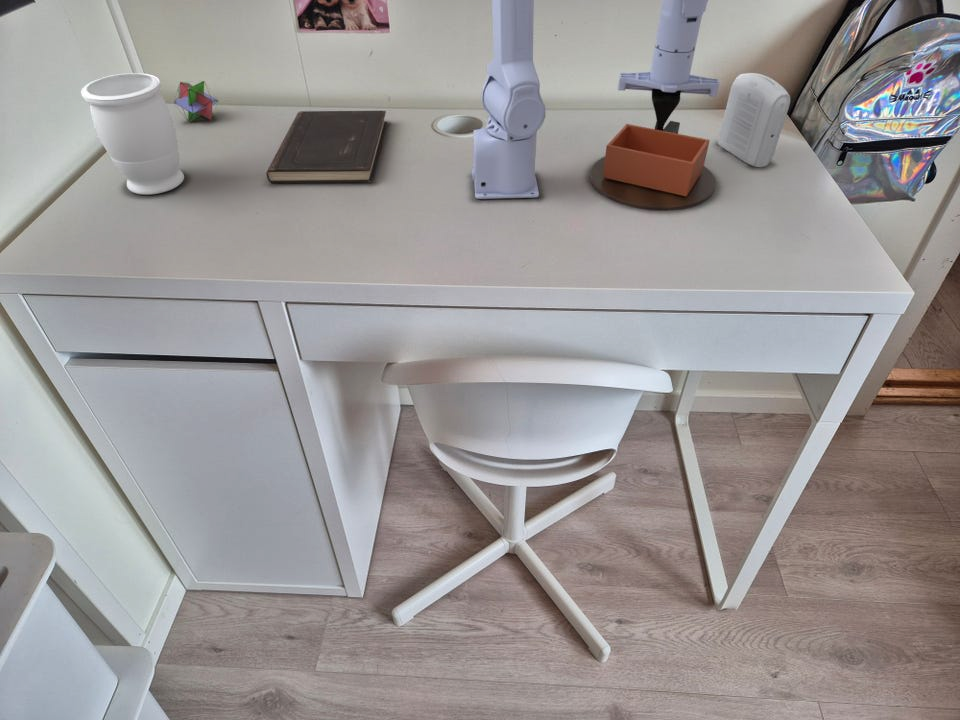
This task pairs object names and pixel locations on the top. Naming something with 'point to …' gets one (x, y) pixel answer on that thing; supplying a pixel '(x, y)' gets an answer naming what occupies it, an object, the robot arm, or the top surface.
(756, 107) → the photo printer
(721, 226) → the top surface
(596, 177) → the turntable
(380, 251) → the top surface
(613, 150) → the bin
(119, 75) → the jar
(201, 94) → the geometric puzzle
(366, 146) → the hardcover book
